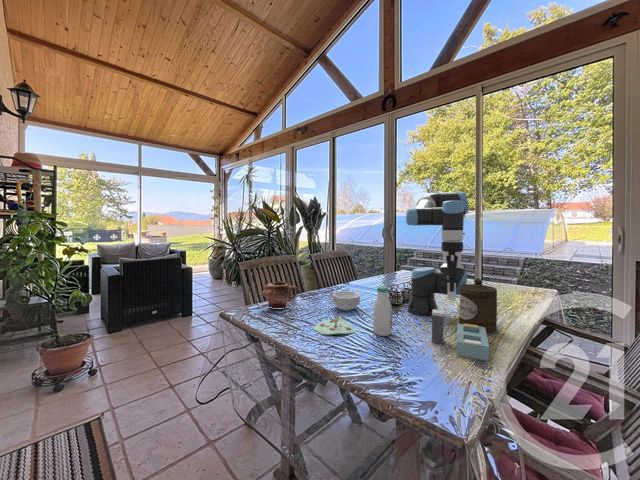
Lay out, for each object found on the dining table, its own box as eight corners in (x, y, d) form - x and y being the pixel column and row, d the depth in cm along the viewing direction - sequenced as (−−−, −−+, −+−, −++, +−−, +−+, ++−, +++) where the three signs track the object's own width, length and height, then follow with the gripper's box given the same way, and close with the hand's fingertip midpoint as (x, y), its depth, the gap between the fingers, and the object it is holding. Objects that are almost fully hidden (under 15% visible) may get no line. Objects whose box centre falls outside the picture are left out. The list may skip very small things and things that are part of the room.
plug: (431, 342, 114) (431, 312, 113) (432, 338, 117) (432, 309, 117) (442, 344, 112) (443, 313, 111) (443, 340, 116) (444, 310, 115)
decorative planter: (296, 303, 170) (295, 280, 169) (300, 309, 158) (299, 284, 157) (261, 306, 165) (261, 282, 164) (263, 312, 153) (262, 286, 152)
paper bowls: (361, 312, 152) (361, 297, 151) (333, 312, 152) (332, 297, 152) (358, 304, 167) (358, 290, 166) (332, 304, 167) (332, 290, 167)
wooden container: (453, 321, 137) (454, 275, 136) (485, 321, 137) (486, 275, 135) (468, 333, 122) (469, 282, 121) (503, 333, 122) (505, 282, 120)
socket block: (456, 355, 103) (456, 340, 102) (457, 335, 120) (457, 322, 120) (488, 361, 98) (489, 345, 98) (484, 339, 116) (485, 326, 116)
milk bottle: (388, 338, 118) (388, 290, 117) (370, 334, 122) (370, 288, 121) (394, 331, 125) (394, 286, 123) (377, 328, 129) (377, 284, 127)
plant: (314, 317, 146) (314, 300, 145) (355, 317, 145) (355, 300, 145) (311, 337, 121) (311, 316, 120) (360, 337, 120) (360, 316, 120)
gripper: (465, 243, 97) (463, 305, 98) (461, 239, 120) (460, 289, 121) (441, 243, 100) (440, 302, 101) (442, 239, 123) (441, 287, 124)
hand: (451, 295), depth 111 cm, fingers open, 13 cm apart
